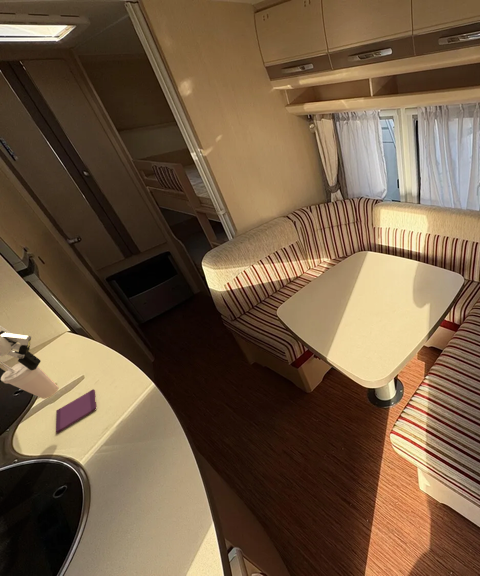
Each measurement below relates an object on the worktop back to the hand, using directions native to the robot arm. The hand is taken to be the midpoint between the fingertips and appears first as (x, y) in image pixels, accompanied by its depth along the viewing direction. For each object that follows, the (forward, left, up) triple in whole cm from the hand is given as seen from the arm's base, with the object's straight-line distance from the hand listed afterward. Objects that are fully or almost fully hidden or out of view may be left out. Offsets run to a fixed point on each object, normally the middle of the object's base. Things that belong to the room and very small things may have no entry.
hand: (19, 371), depth 75 cm
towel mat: (0, 0, -18) cm, 18 cm away
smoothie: (0, 0, -9) cm, 9 cm away
